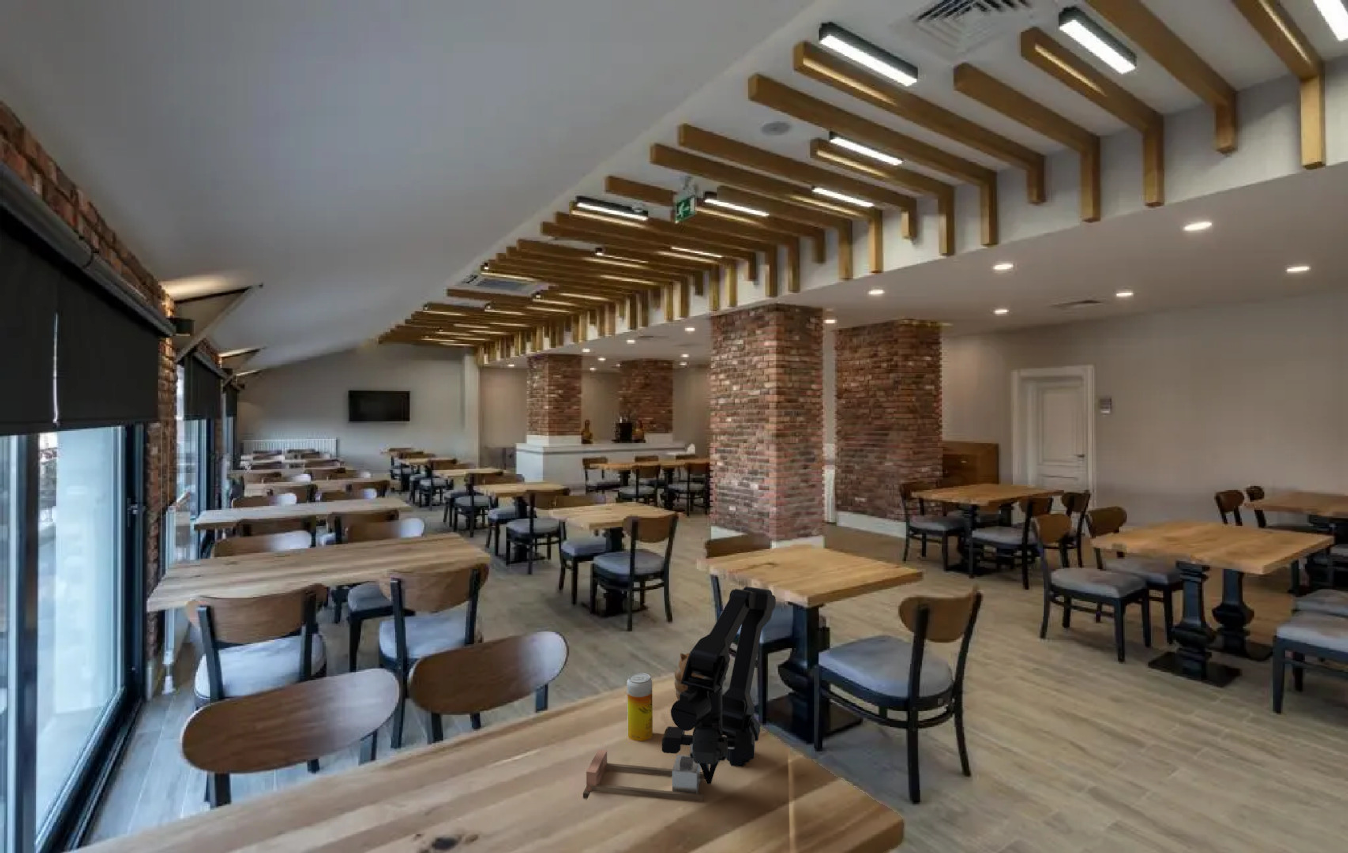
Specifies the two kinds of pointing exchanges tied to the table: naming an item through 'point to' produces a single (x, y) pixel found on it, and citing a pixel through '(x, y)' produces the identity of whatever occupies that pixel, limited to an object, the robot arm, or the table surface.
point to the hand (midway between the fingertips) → (709, 783)
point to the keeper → (685, 775)
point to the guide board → (597, 773)
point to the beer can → (639, 707)
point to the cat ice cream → (679, 675)
